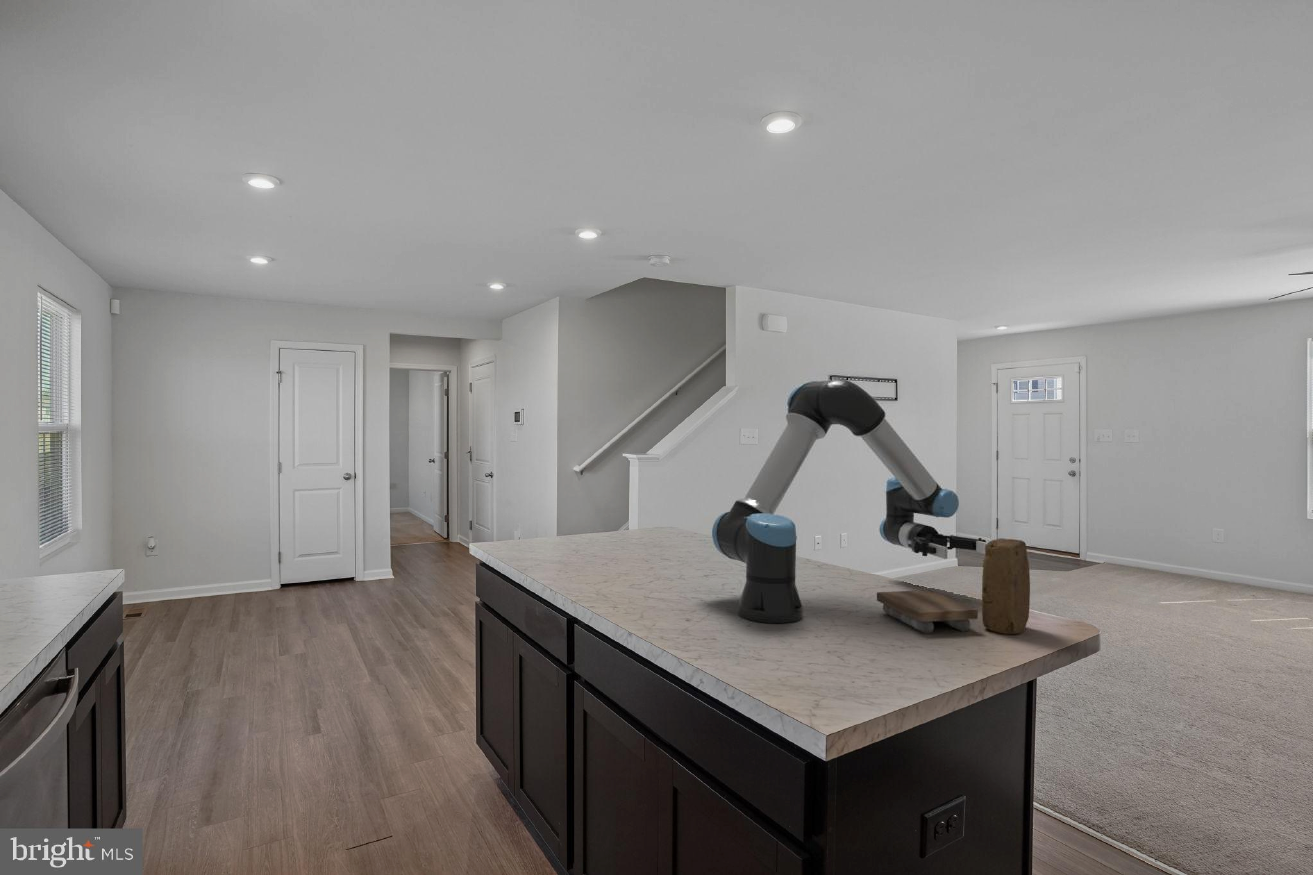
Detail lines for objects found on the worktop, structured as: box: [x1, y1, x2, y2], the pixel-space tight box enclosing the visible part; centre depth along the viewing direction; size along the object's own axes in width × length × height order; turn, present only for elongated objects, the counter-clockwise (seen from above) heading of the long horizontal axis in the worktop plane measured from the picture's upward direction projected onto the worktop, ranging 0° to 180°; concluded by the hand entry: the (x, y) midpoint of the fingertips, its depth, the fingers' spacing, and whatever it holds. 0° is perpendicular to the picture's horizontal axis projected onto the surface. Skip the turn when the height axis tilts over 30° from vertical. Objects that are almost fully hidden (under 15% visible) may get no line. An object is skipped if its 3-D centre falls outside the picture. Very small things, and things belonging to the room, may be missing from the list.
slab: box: [876, 589, 979, 635], centre depth 155 cm, size 14×18×5 cm
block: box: [981, 538, 1031, 635], centre depth 150 cm, size 11×8×20 cm
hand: (971, 552), depth 163 cm, fingers open, 13 cm apart
